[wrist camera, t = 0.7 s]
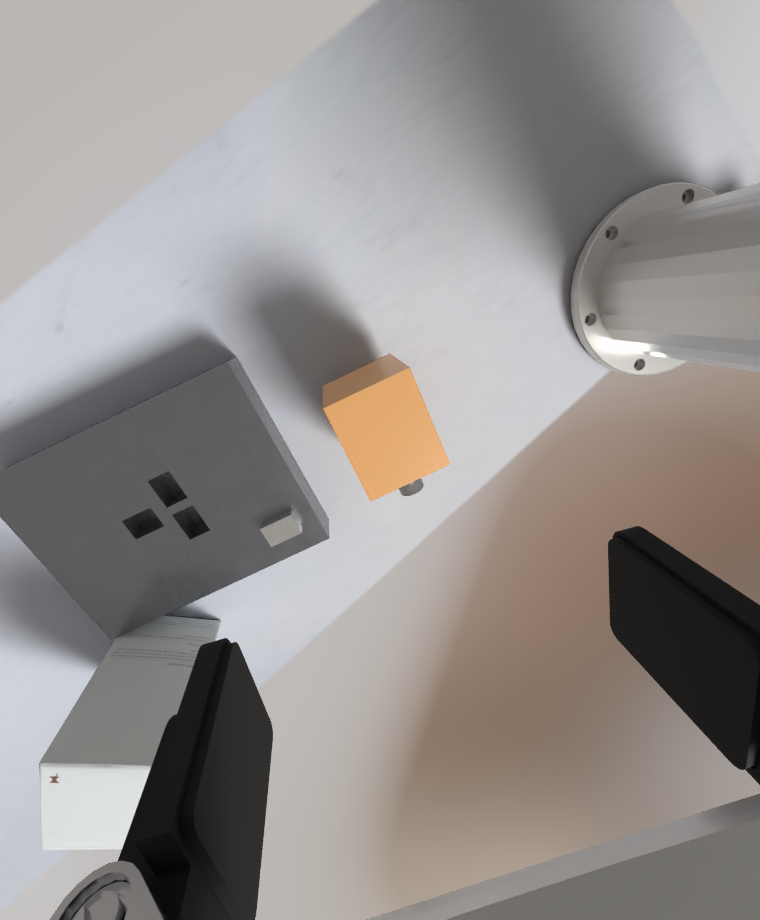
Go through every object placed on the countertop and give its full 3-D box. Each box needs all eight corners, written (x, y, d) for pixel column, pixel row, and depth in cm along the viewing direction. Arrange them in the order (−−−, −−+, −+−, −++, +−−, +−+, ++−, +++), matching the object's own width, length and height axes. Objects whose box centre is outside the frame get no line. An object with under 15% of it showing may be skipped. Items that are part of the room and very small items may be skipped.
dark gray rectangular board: (236, 356, 30) (224, 363, 26) (328, 519, 34) (329, 543, 31) (4, 468, 30) (-39, 490, 26) (128, 613, 35) (106, 647, 31)
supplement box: (125, 680, 37) (34, 854, 25) (131, 609, 35) (33, 763, 23) (214, 686, 39) (167, 854, 27) (225, 619, 36) (179, 769, 25)
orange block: (427, 447, 34) (462, 492, 25) (369, 474, 34) (384, 529, 25) (386, 350, 31) (409, 367, 22) (322, 381, 31) (322, 408, 23)
